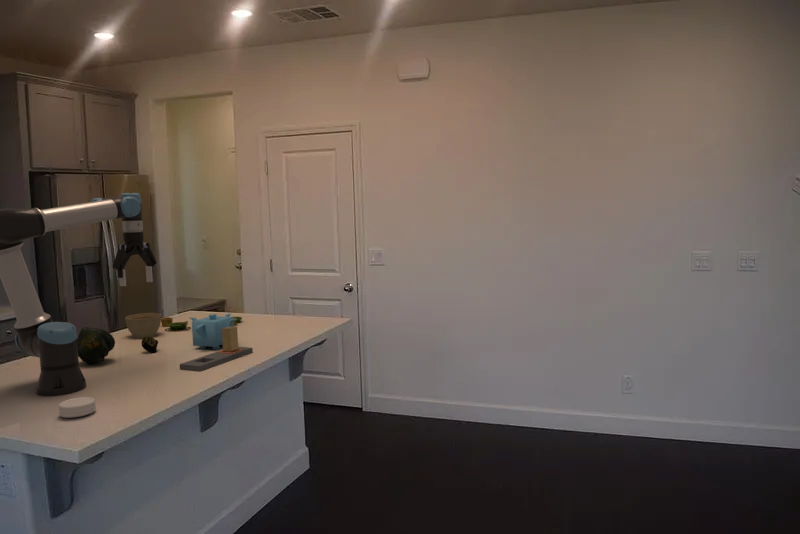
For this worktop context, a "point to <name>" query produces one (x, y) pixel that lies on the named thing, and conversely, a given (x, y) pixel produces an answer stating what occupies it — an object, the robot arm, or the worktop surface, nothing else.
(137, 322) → the planter bowl
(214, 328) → the teakettle
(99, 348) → the squash
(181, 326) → the tableware set
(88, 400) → the white round disc
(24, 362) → the worktop surface
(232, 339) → the wooden peg
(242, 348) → the dark grey flat board
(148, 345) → the tape measure
